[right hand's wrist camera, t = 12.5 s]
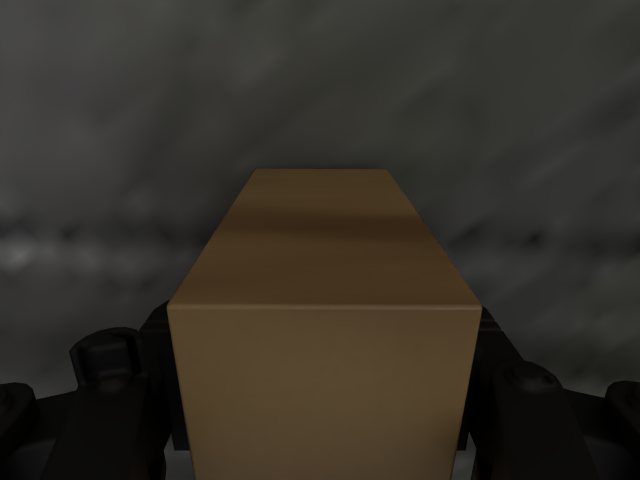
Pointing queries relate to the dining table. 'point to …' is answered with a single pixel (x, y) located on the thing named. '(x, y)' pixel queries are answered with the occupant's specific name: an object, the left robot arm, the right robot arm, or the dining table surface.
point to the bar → (323, 335)
